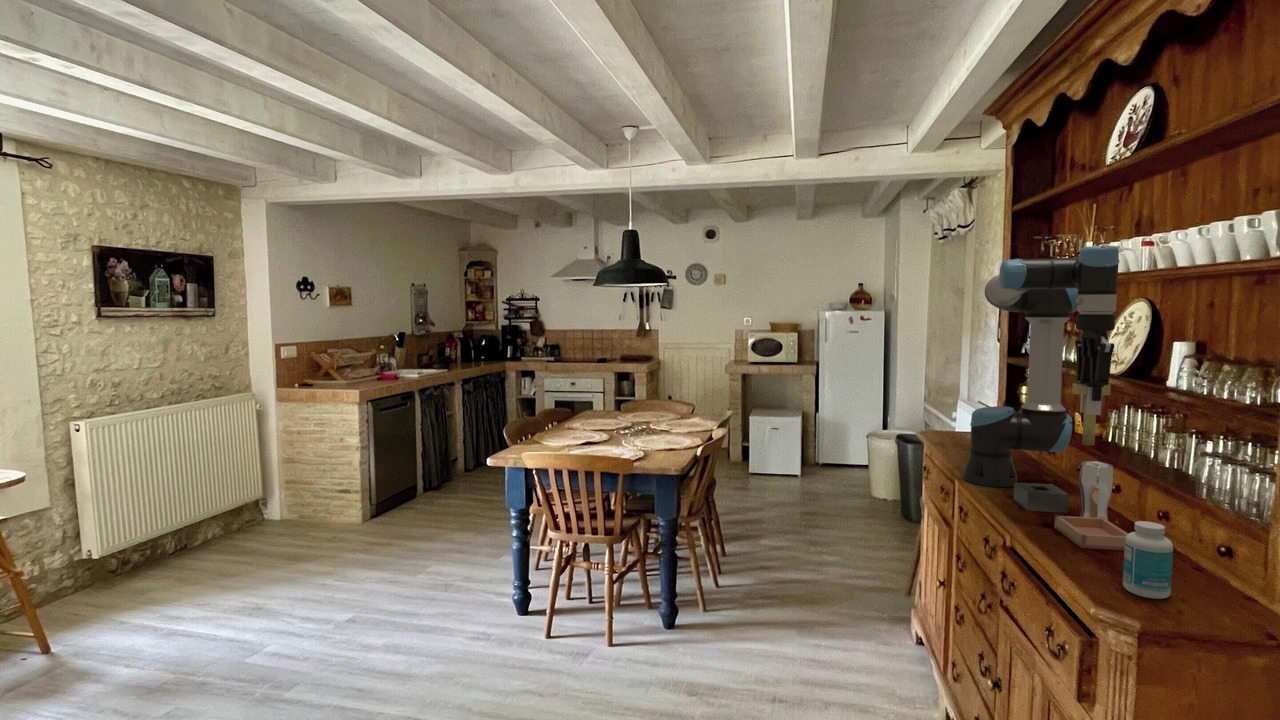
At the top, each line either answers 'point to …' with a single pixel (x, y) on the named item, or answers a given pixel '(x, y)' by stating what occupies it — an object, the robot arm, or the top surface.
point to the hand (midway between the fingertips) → (1090, 413)
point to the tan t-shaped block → (1088, 420)
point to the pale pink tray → (1091, 532)
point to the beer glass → (1095, 488)
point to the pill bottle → (1148, 561)
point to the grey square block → (1041, 497)
